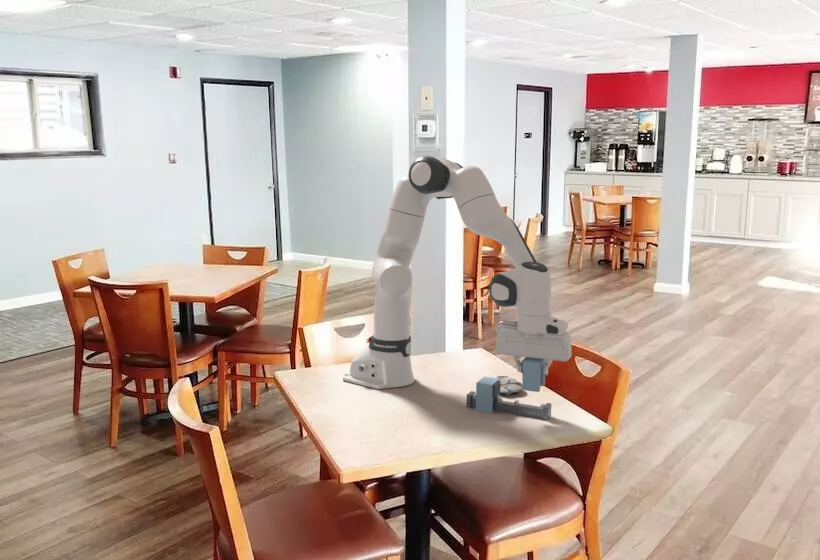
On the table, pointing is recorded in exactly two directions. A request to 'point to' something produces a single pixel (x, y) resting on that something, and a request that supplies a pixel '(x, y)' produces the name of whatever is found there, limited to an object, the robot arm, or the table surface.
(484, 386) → the light blue rectangular block
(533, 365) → the light blue block
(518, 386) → the stone
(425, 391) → the table surface
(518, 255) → the robot arm
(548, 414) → the rail
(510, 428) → the table surface
